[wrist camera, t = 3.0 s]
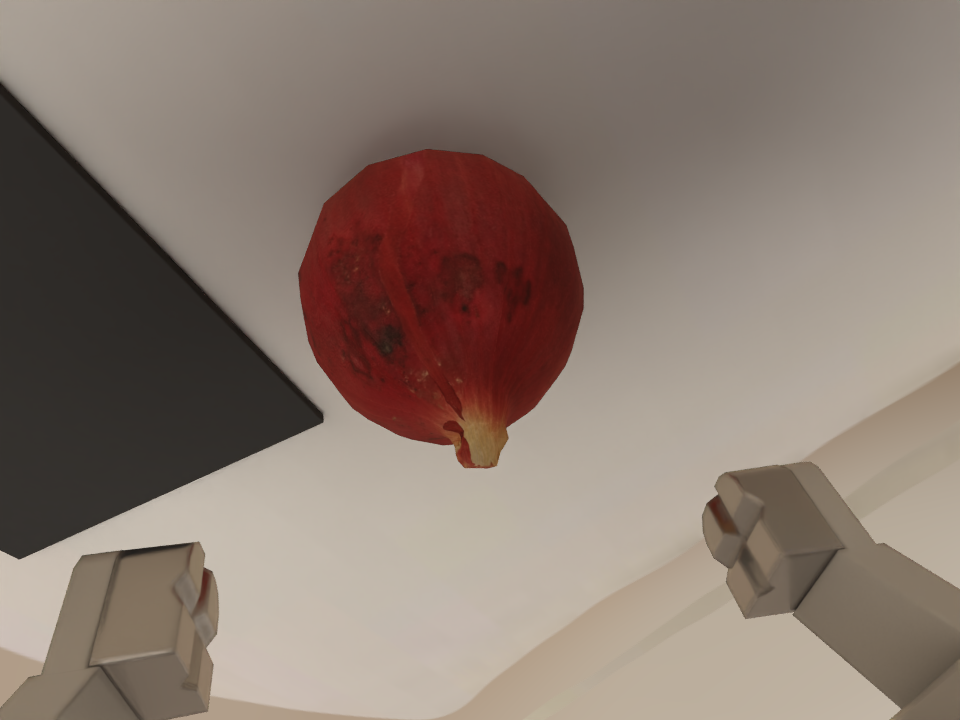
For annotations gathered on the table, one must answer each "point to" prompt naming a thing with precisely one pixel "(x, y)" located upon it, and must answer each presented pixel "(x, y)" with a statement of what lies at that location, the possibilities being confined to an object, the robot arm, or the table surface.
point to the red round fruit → (441, 298)
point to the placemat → (109, 357)
